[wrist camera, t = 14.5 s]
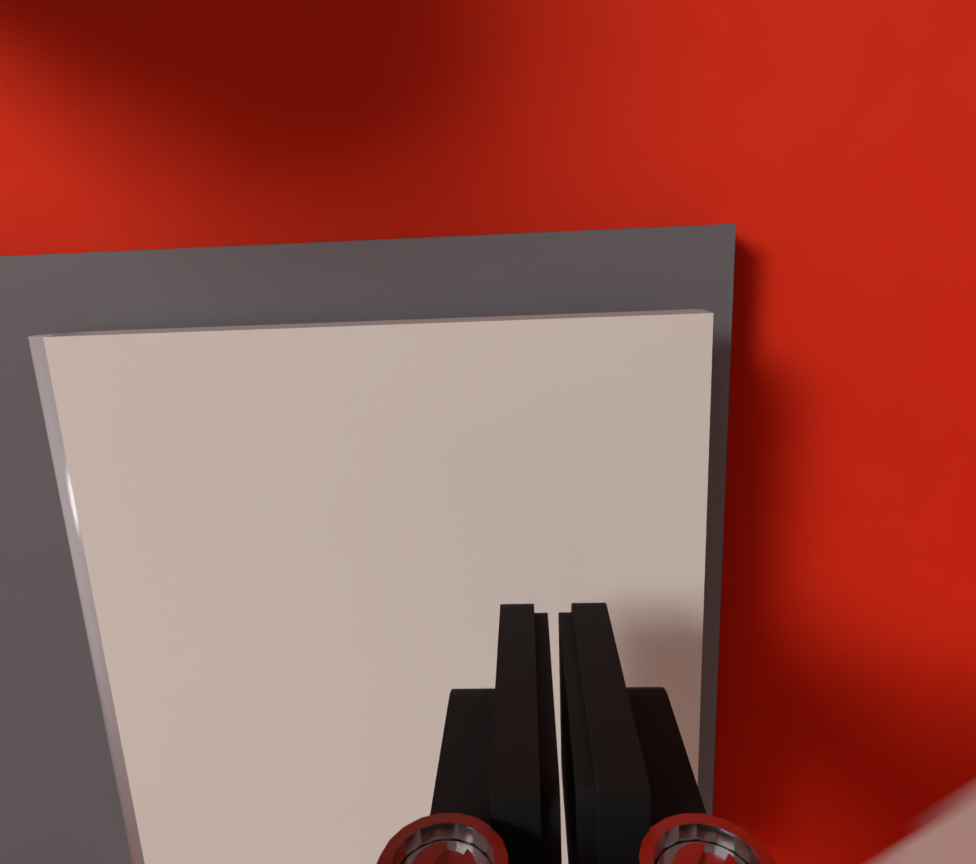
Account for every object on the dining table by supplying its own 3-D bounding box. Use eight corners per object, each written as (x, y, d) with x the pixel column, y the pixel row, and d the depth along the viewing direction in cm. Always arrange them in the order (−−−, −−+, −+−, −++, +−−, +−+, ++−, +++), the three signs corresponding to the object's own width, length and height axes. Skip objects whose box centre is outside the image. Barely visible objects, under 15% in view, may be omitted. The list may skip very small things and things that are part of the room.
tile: (15, 338, 13) (55, 332, 14) (123, 873, 16) (149, 834, 17) (713, 312, 12) (699, 308, 13) (694, 894, 15) (683, 851, 16)
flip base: (719, 226, 14) (735, 224, 13) (698, 834, 18) (710, 867, 17) (-512, 281, 15) (-582, 282, 14) (-294, 863, 18) (-338, 896, 17)
